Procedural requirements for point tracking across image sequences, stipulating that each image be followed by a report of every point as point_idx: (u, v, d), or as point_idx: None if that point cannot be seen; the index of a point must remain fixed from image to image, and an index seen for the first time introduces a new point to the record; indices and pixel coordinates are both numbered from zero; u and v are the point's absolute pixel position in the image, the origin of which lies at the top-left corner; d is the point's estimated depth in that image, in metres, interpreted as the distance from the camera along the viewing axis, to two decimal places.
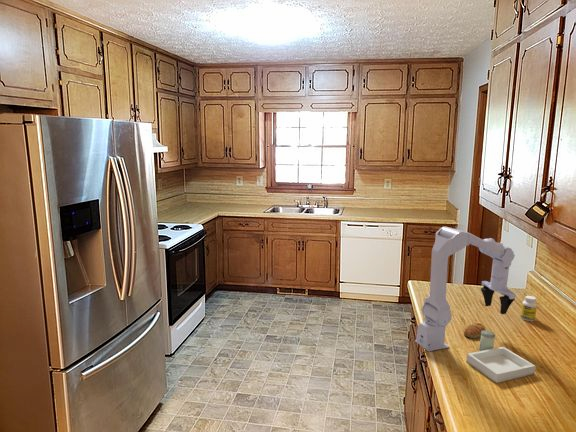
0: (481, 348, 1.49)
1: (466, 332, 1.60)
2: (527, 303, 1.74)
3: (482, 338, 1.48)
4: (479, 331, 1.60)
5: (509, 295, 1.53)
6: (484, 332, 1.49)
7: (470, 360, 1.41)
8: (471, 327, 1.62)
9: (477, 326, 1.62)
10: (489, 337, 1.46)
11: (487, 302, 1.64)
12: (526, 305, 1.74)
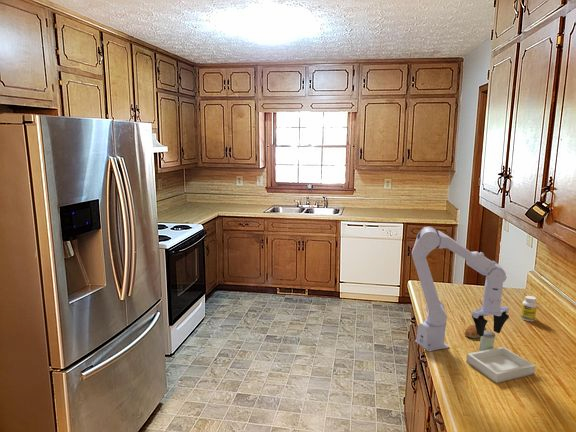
0: (481, 348, 1.49)
1: (467, 332, 1.60)
2: (527, 303, 1.74)
3: (482, 338, 1.48)
4: None
5: None
6: (484, 332, 1.49)
7: (470, 360, 1.41)
8: (472, 327, 1.62)
9: None
10: (489, 337, 1.46)
11: (495, 327, 1.50)
12: (526, 305, 1.74)
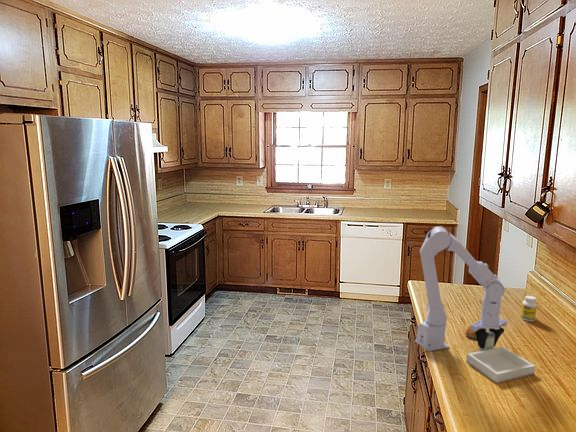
0: (481, 348, 1.49)
1: (468, 333, 1.60)
2: (527, 303, 1.74)
3: None
4: None
5: None
6: None
7: (470, 360, 1.41)
8: None
9: None
10: (489, 337, 1.46)
11: None
12: (526, 305, 1.74)
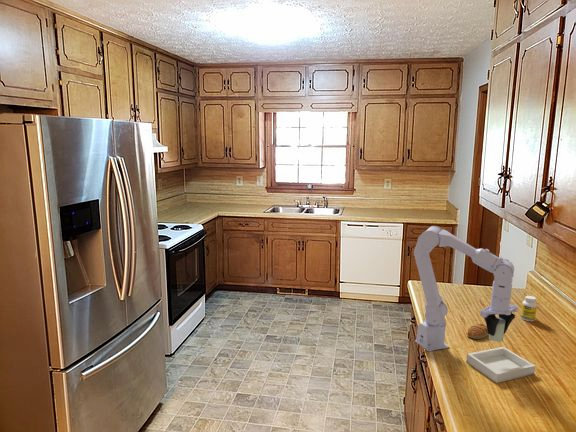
0: (490, 335, 1.42)
1: (470, 333, 1.60)
2: (527, 303, 1.74)
3: None
4: (482, 332, 1.59)
5: None
6: None
7: (470, 360, 1.41)
8: (474, 328, 1.61)
9: (480, 327, 1.61)
10: (499, 323, 1.39)
11: None
12: (526, 305, 1.74)
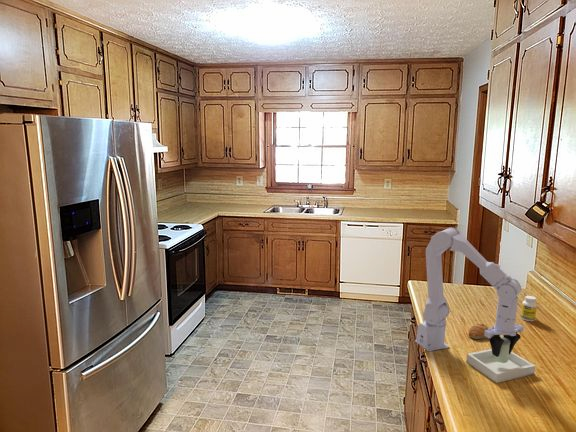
0: (495, 356, 1.38)
1: (471, 333, 1.59)
2: (527, 303, 1.74)
3: None
4: (483, 332, 1.59)
5: None
6: None
7: (470, 360, 1.41)
8: (475, 328, 1.61)
9: (481, 327, 1.61)
10: (504, 343, 1.35)
11: None
12: (526, 305, 1.74)
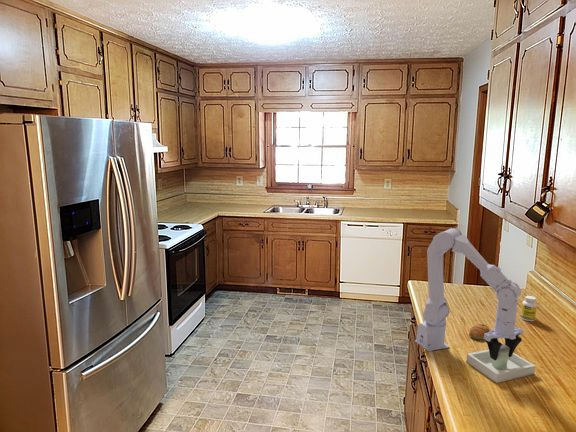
0: (494, 362, 1.39)
1: (471, 334, 1.59)
2: (527, 303, 1.74)
3: None
4: (484, 332, 1.59)
5: None
6: None
7: (470, 360, 1.41)
8: (476, 328, 1.61)
9: (482, 327, 1.61)
10: (503, 351, 1.36)
11: None
12: (526, 305, 1.74)
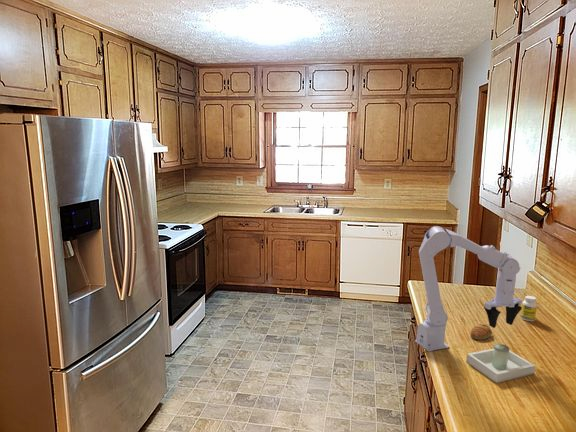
0: (494, 363, 1.39)
1: (473, 334, 1.59)
2: (527, 303, 1.74)
3: (495, 352, 1.38)
4: (486, 332, 1.59)
5: None
6: (497, 345, 1.39)
7: (470, 360, 1.41)
8: (477, 329, 1.61)
9: (483, 327, 1.61)
10: (503, 351, 1.36)
11: (507, 318, 1.50)
12: (526, 305, 1.74)
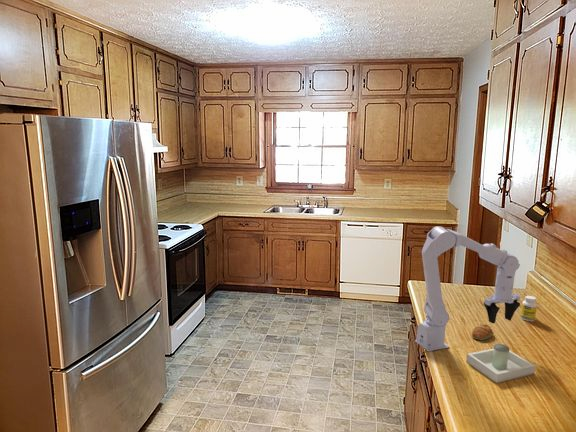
0: (494, 363, 1.39)
1: (475, 334, 1.59)
2: (527, 303, 1.74)
3: (495, 352, 1.38)
4: (487, 333, 1.59)
5: None
6: (497, 345, 1.39)
7: (470, 360, 1.41)
8: (479, 329, 1.60)
9: (484, 328, 1.61)
10: (503, 351, 1.36)
11: (506, 314, 1.54)
12: (526, 305, 1.74)
